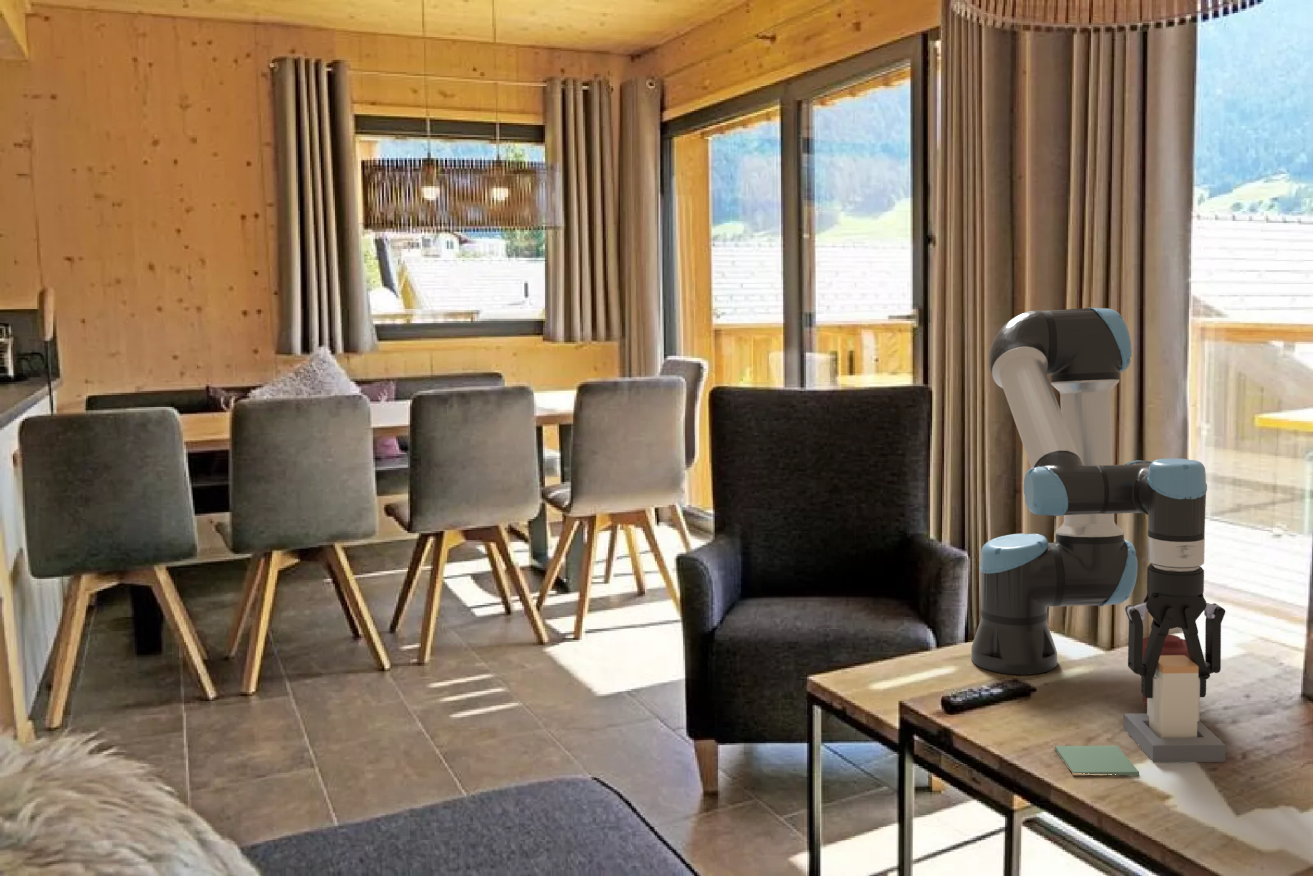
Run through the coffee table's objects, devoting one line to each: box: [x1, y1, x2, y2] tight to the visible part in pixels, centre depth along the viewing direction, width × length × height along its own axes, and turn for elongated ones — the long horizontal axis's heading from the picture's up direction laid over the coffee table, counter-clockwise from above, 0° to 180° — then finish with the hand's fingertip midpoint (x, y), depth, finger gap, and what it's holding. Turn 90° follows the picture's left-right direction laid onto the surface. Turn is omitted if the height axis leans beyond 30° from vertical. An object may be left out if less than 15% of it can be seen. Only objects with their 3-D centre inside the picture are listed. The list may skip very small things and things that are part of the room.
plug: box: [1149, 655, 1199, 738], centre depth 159 cm, size 5×5×13 cm
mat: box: [1054, 745, 1140, 776], centre depth 155 cm, size 9×9×1 cm
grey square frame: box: [1123, 713, 1226, 763], centre depth 160 cm, size 12×10×2 cm
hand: (1172, 717), depth 160 cm, fingers closed on plug, 5 cm apart
